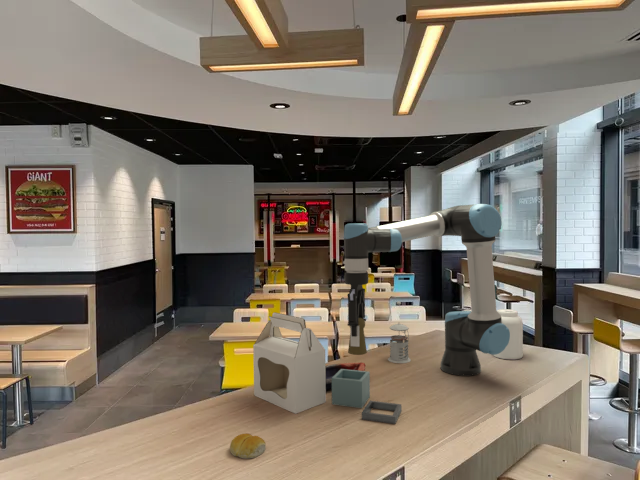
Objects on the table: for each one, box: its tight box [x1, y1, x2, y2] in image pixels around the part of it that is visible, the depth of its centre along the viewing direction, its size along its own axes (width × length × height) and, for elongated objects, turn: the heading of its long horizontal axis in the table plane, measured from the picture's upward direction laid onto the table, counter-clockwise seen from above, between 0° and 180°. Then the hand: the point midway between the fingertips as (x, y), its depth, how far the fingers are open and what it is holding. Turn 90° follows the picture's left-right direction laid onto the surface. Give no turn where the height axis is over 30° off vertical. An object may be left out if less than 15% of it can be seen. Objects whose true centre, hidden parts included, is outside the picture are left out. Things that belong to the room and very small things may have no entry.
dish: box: [325, 361, 366, 391], centre depth 167 cm, size 16×31×5 cm, turn 124°
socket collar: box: [361, 400, 403, 425], centre depth 137 cm, size 10×10×2 cm
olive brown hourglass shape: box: [347, 318, 368, 356], centre depth 146 cm, size 6×6×11 cm
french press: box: [387, 301, 412, 364], centre depth 194 cm, size 10×12×25 cm
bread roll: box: [229, 432, 267, 460], centre depth 116 cm, size 8×9×4 cm
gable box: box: [252, 312, 327, 415], centre depth 151 cm, size 22×13×28 cm, turn 44°
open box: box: [331, 369, 371, 409], centre depth 149 cm, size 10×10×8 cm
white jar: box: [492, 308, 524, 360], centre depth 197 cm, size 12×12×20 cm
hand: (357, 343), depth 146 cm, fingers closed on olive brown hourglass shape, 5 cm apart
